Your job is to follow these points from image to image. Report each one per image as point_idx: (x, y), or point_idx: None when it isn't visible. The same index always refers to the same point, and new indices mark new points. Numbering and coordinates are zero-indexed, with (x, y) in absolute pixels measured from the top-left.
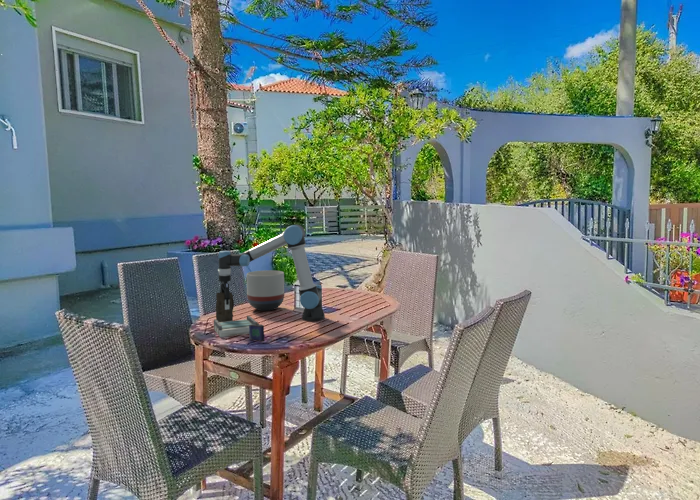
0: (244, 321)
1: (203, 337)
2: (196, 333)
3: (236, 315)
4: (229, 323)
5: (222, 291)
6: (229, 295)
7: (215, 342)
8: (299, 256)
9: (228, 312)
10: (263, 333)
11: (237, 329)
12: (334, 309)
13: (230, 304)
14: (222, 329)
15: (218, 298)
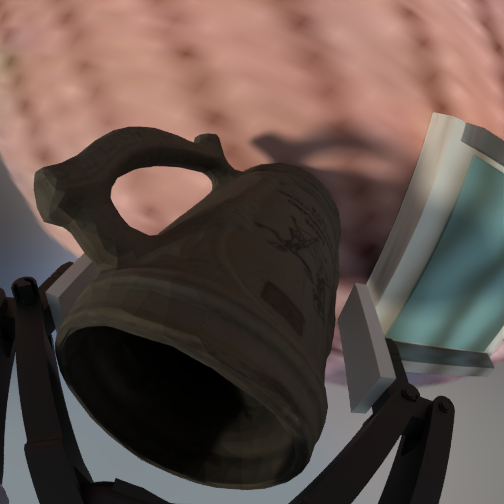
0: (495, 199)
1: (418, 379)
2: (346, 382)
3: (90, 60)
4: (453, 294)
5: (60, 392)
6: (448, 440)
7: (492, 363)
8: None
9: (333, 261)
10: None
11: None
12: None
13: (317, 271)
14: (484, 350)
15: (236, 426)
